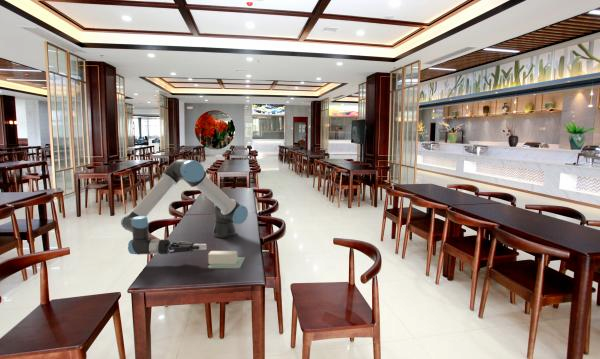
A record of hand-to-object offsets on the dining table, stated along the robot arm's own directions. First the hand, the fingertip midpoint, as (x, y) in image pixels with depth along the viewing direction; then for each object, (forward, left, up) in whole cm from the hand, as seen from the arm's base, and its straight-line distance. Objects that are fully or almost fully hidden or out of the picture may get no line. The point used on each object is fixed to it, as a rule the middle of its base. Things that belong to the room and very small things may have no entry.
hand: (206, 246), depth 178 cm
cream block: (0, +2, -6) cm, 6 cm away
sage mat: (0, +11, -9) cm, 14 cm away
